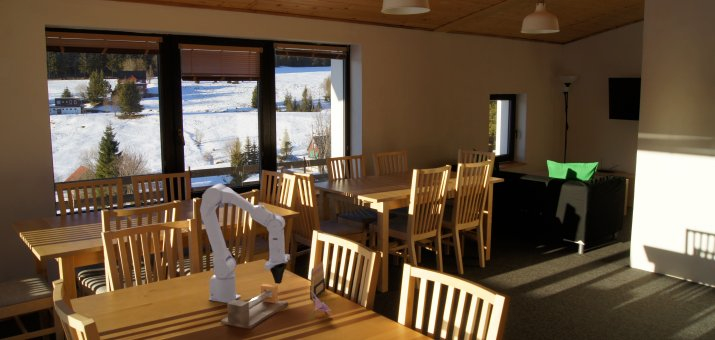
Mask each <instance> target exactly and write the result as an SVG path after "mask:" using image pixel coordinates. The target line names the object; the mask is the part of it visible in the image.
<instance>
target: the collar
mask: <svg viewBox="0 0 715 340" xmlns="http://www.w3.org/2000/svg"><path fill="white" fill-rule="evenodd" d="M267 290H271V291H272V296H271V297H269V298H268V299H266V300H264V301H265V302H270V303H276V302H278V301H279V291H278V285H274V284H267V283H262V284H261V285H260V294H262V293H264V292H266V291H267Z"/></svg>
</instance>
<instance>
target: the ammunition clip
mask: <svg viewBox="0 0 715 340" xmlns="http://www.w3.org/2000/svg"><path fill="white" fill-rule="evenodd" d="M309 289H310V290H311V291H312V292H313V293H314V294H315V295H316V297H317V298H318V297H319V296H320V295H323V293H324V292H325V291H326V278H325V271H324V264H323V261H321V262H319V263H318V264H316V265H315V266H314V267H313V268H311V272H310V286H309ZM310 290H309V297H310V298H309V299H310V300H313V298H314V299H315V297H314V295H313V294H312V292H311V291H310Z"/></svg>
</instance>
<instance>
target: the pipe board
mask: <svg viewBox="0 0 715 340" xmlns="http://www.w3.org/2000/svg"><path fill="white" fill-rule="evenodd" d="M288 305H289V302H288V301H282V300H278V302H276V303H270V302H265V301H263V302H261V303H259V304H258V305H256V306H254V307H253V308H251V309H249V302H248V301H243V300H238V299H235V300H233V301H231V302H229V303H226V306H227V308H226V309H227V317H225V318H223V319H221V320H220V324H223V325H228V326H232V327H237V328H243V329H248V330H251V329H252V328H254V327H256V326H257V325H259V324H260V323H261V322H263V321H265V320H267V319H268V318H270V317H271V316H272V315H274V314H276V313H277V312H279V311H280V310H282V309H283V308H285V307H287V306H288Z"/></svg>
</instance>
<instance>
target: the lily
mask: <svg viewBox="0 0 715 340" xmlns="http://www.w3.org/2000/svg"><path fill="white" fill-rule="evenodd" d="M308 291H309V292H310V291H311V290H310V288H308ZM311 292H312V291H311ZM312 294H313V295H314V297H315V299H314V298H313V299H312V300H313V301H314V310H313V312H311V315H310V318H309V320H310V321H311V320H312V317H313V315H314V313H315V312H316V310H317V311H318V310H319V311H324V312H325V313H327V314H328V315H329V316H330V317H331V318H333V316H332V315H331V314H330V312H329V311H332V310H331V308H330V307H329V306H328V305H327V304H326V303H325V301H321V300H320V299H319V298H318V297H316V295H315V294H314V293H313V292H312Z"/></svg>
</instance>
